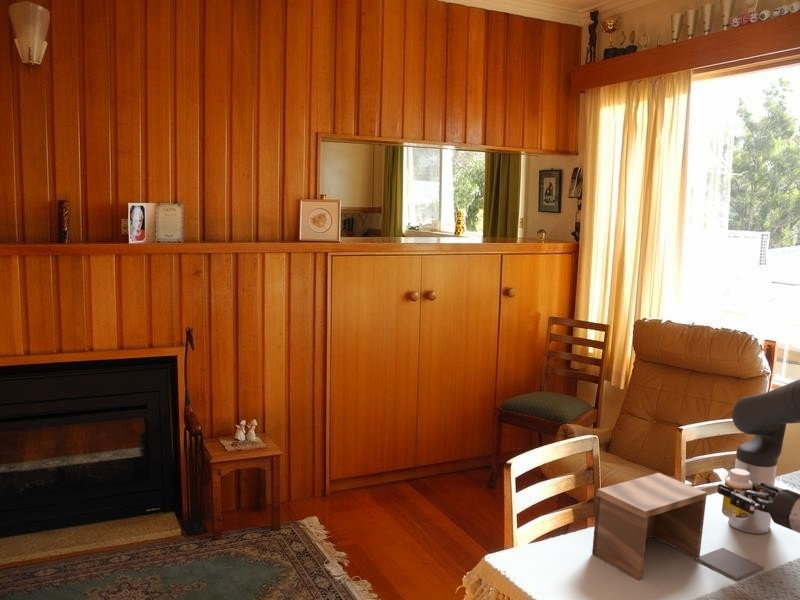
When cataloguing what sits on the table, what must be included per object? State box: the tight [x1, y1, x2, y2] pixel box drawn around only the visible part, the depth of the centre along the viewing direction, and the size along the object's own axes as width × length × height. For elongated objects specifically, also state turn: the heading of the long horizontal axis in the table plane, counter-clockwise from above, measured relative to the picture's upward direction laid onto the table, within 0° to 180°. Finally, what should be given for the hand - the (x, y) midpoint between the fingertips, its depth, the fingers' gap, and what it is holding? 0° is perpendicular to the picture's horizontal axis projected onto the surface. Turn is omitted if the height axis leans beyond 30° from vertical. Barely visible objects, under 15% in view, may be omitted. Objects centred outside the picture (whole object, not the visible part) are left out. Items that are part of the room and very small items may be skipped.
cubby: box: [591, 472, 708, 581], centre depth 171 cm, size 21×13×16 cm, turn 124°
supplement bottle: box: [721, 468, 753, 520], centre depth 167 cm, size 6×6×10 cm
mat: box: [695, 547, 764, 581], centre depth 170 cm, size 10×10×1 cm
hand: (727, 485), depth 169 cm, fingers closed on supplement bottle, 5 cm apart
